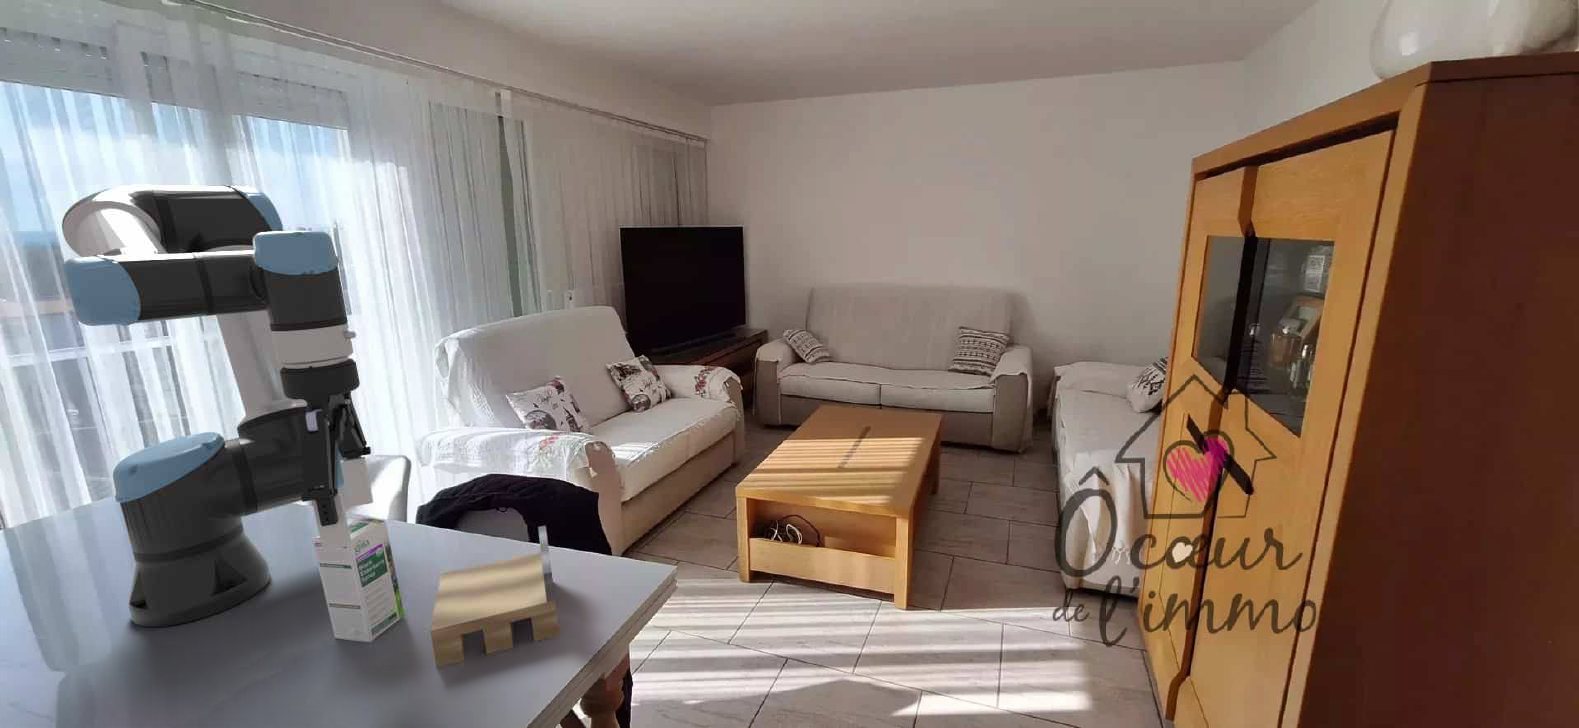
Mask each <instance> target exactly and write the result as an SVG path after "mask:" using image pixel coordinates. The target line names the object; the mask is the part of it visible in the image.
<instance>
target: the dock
mask: <svg viewBox="0 0 1579 728" xmlns="http://www.w3.org/2000/svg"><path fill="white" fill-rule="evenodd" d="M547 533H548V532H547V526H546V525H542V526H538V537H539V546H540V548H539V549H540V552H537V553H533V554H527V555H522V556H518V557H517V556H516V557H514V558H509V559H504V560H499V561H495V562H489V563H485V564H480V565H475V566H470V567H466V568H461V569H457V570H452V571H447V572H442V573H440V578H439V583H438V588H437V595H436V599H435V605H434V609H433V615H432V620H431V625H430V630H429V632H430V638H431V643H432V648H433V649H432V650H433V653H434V659H435V666H436V668H440V667H444V666H448V665H452V664H455V663H458V662H463V661H465V657H466V649H467V638H468V637H467V636H468V634H469V633H474V632H477V631H480V630H482V631H483V632H482V633H483V638H484V645H485V649H486V650H485V651H486V655H488V654H493V653H497V652H500V651H504V650H508V649H512V648H514V623H513V622H517V621H521V620H525V619H529V618H531V625H532V633H533V641H534V642H539V641H542V640H547V639H549V638H554V637H558V636H560V628H559V620H558V613H557V603H556V596H555V588H554V579H553V573H552V565H551V557H550V549H549V541H548V534H547Z"/></svg>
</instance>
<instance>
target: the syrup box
mask: <svg viewBox="0 0 1579 728" xmlns="http://www.w3.org/2000/svg"><path fill="white" fill-rule="evenodd" d="M347 523H348V528H349V533H350V538H351V545H350V546H347V547H342V548H337V549H332V550H327V551H323V550H322V545H321V540H320V536H319V535H317V536H315V537H313V538H312V540H311V541H312V545H313V549H314V553H315V557H316V562H317V567H318V570H319V574H320V579H321V585H322V587H323V593H324V597H325V602H326V605H327V610H328V613H329V619H330V622H331V623H330V624H331V626H332V631H333V636H334V637H335V638H336V639H340V640H347V641H352V642H353V641H355V642H364V643H372V642H374V640H376V638H377V637H379V636H380V635H381V634H382V633H385V631H388V629H389V628H390V627H392V626H393V625H394V624H396V623H397V622H399V621H401V620H402V619H403V618H404V617H405V611H404V606H403V602H402V597H401V596H402V595H401V592H400V587H399V582H398V576H397V571H396V566H395V561H394V557H393V553H392V547H391V541H390V537H389V531H388V526H387V522H386V520H384V519H377V518H370V517H356V518H353V517H350V518H349V519H347Z"/></svg>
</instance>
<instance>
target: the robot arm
mask: <svg viewBox="0 0 1579 728" xmlns="http://www.w3.org/2000/svg"><path fill="white" fill-rule="evenodd" d="M62 218H63V219H62V220H61V221H62V223H61V224H62V225H61V230H62V235H63V238H64V240H65V242H66V244H67V245H68V246H69V247H70V249H71V250H72V251H73V252H74V253H75V254H76V255H78V256H79V257H75V258H69V259H67V260H66V261H65V262H64V263H63V264H62V268H63V274H64V276H65V281H66V284H67V288H68V292H69V296H70V298H71V299H70V300H71V302H72V306H73V309H74V313H75V317H76V319H77V320H78V321H79V322H80V323H81V324H83V325H84V326H89V327H97V326H112V325H113V326H115V325H120V326H124V327H125V326H130V325H134V324H141V323H151V322H161V321H170V320H171V321H173V320H181V319H190V318H200V317H210V316H216V320H217V323H218V328H219V329H220V333H221V336H222V341H223V344H224V347H225V349H226V354H227V358H228V359H229V362H230V363H229V364H230V365H231V369H232V374H233V376H234V380H235V383H236V385H237V389H238V393H239V396H240V399H241V400H240V401H241V403H242V405H243V410H244V412H245V416H244V417H243V418H242V420H241V421H240V422H239V423H238V424H237V426H236V431H237V435H238V437H237V438H233V439H226V440H225V438H224V437H223V436H222V434H220V433H218V432H214V431H213V432H212V431H210V432H209V431H207V432H201V433H197V434H195V433H194V434H188V435H184V436H180V437H176V438H173V439H169V440H166V441H163V442H160V443H156V444H153V445H150V446H148V447H145V448H142V449H141V450H138V451H135V452H134V453H132V454H130V455H128V456H126V457H124V459H122V460H121V461H119V462H118V463H117V465H116V466H115V467H114V469H113V472H112V479H113V484H114V490H115V495H114V499H115V501H116V503H119V505H120V509H121V514H122V518H123V522H124V525H125V529H126V533H127V537H128V541H129V544H130V548H131V551H132V554H133V559H134V562H135V567H134V573H133V577H132V583H131V589H130V595H129V599H128V610H129V614H130V617H131V620H132V622H133V623H134V624H135V625H137V626H140V627H147V628H158V627H159V628H160V627H168V626H173V625H174V626H175V625H179V624H185V623H190V622H193V621H197V620H201V619H203V618H206V617H210V616H212V615H215V614H218V613H221V612H223V611H225V610H228V609H231V608H233V607H234V606H236V605H238V604H240V603H243V602H245V601H246V600H248V599H251V597H254V595H256V594H258V593H259V592H260V591H261V590H262V589H264V588H265V587H266V586H267V584H268V583H269V581H270V580H271V573H270V568H269V564H268V562H267V560H266V558H264V556H263V555H262V554H261V553H260V551H259V550H258V548H257V547H256V546H255V545H254V543H253V542H252V541H251V540H250V538H249V536H247V534H246V533H245V528H244V525H243V521H242V518H244V517H247V516H251V515H255V514H257V513H262V512H266V511H269V510H273V509H275V508H276V509H277V508H280V507H284V506H286V505H290V504H295V503H298V502H303V503H305V502H310V501H311V502H312V507H313V510H314V516H315V520H316V525H317V530H318V534H319V535H318V536H320V540H321V545H322V550H323V551H327V550H332V549H337V548H342V547H347V546H350V545H351V538H350V533H349V528H348V523H347V520H348V519H347V514H346V509H345V504H344V499H343V494H342V493H343V492H339V490H341V489H342V488H343V489H345V494H346V498H347V499H346V500H347V504H348V508H352V507H357V506H364V505H370V504H373V503H374V499H373V492H372V488H371V482H370V477H369V472H368V471H369V470H368V467H367V466H368V465H367V461H366V456H367V455H372V449H371V446H367V445H368V442H367V440H366V438H365V434H364V432H363V429H362V425H361V423H360V419H359V417H358V414H357V411H356V408H355V405H354V403H353V398H352V392H353V391H355V390H357V389H358V388H359V387H360V385H361V383H360V376H359V371H358V367H357V361H356V360H354V358H351V357H350V356H352V355H353V353H354V347H353V342H352V339H355V338H356V337H357V333H356V332H355V331H354V330H349V328H350V327H349V326H350V325H349V320H348V313H347V308H346V304H345V299H344V292H343V288H342V287H343V286H342V281H341V275H340V269H339V262H340V260H339V257H338V256H337V253H336V252H335V251H336V250H335V247H334V243H333V239H332V237H331V235H330V234H329V233H328V232H325V231H322V230H288V231H284V229H283V227H284V226H283V223H282V220H281V218H280V215H279V212H278V210H277V209H276V207H275V205H274V204H273V201H272V200H271V199H270V198H269V197H268V195H266V193H265V192H263V191H261V190H259V189H257V188H254V187H248V186H234V185H231V184H223V185H222V186H221V185H220V186H216V185H214V186H211V185H170V184H167V185H166V184H165V185H164V184H163V185H162V184H161V185H160V184H158V185H157V184H131V185H130V184H129V185H127V184H126V185H120V186H116V187H111V188H107V189H103V190H100V191H97V192H94V193H92V194H90V195H87V196H86V197H84V198H81V199H79V200H78V201H76V202H75V203H74V204H72V206H70V207H69V208H68V210H67V211H66V212H65V214H64V216H63V217H62Z"/></svg>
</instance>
